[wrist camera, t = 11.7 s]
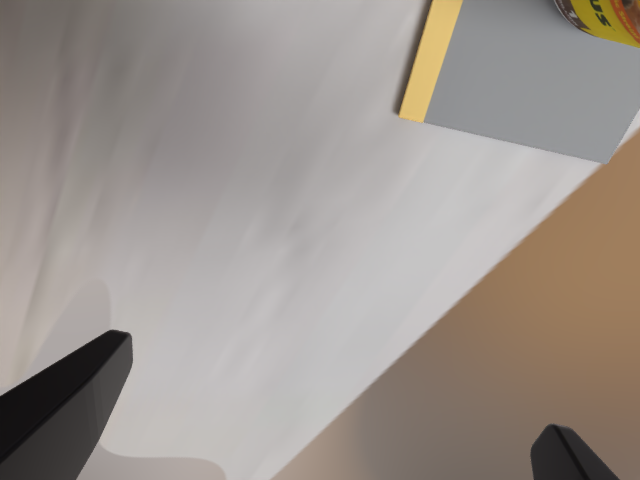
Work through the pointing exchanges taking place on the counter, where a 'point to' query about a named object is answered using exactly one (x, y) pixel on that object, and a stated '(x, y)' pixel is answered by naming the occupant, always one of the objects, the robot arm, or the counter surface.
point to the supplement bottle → (605, 18)
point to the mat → (523, 78)
